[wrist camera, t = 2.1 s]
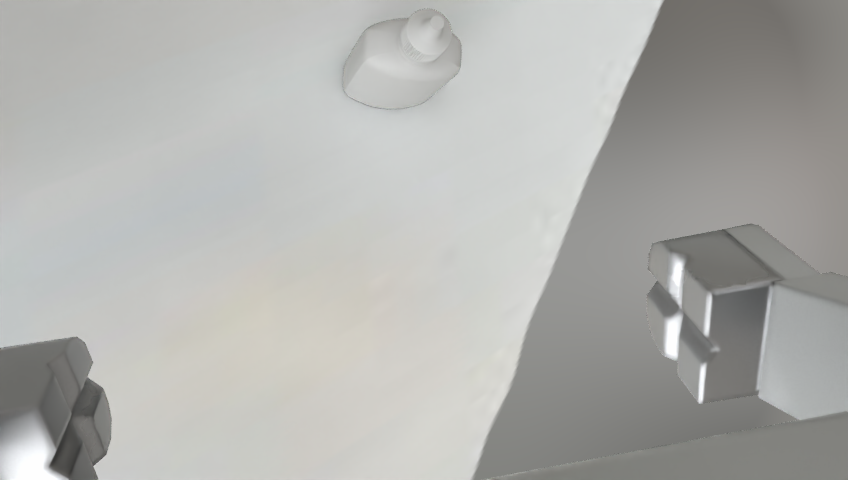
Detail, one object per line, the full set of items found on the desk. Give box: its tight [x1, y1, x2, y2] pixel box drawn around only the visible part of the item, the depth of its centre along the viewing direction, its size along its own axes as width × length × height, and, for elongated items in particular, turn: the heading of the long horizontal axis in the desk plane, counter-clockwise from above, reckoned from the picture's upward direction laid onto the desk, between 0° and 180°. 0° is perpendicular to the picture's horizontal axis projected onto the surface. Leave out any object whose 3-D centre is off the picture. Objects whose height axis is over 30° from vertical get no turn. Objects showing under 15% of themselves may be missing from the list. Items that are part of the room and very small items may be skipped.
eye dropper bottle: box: [343, 8, 462, 109], centre depth 42 cm, size 4×6×12 cm
